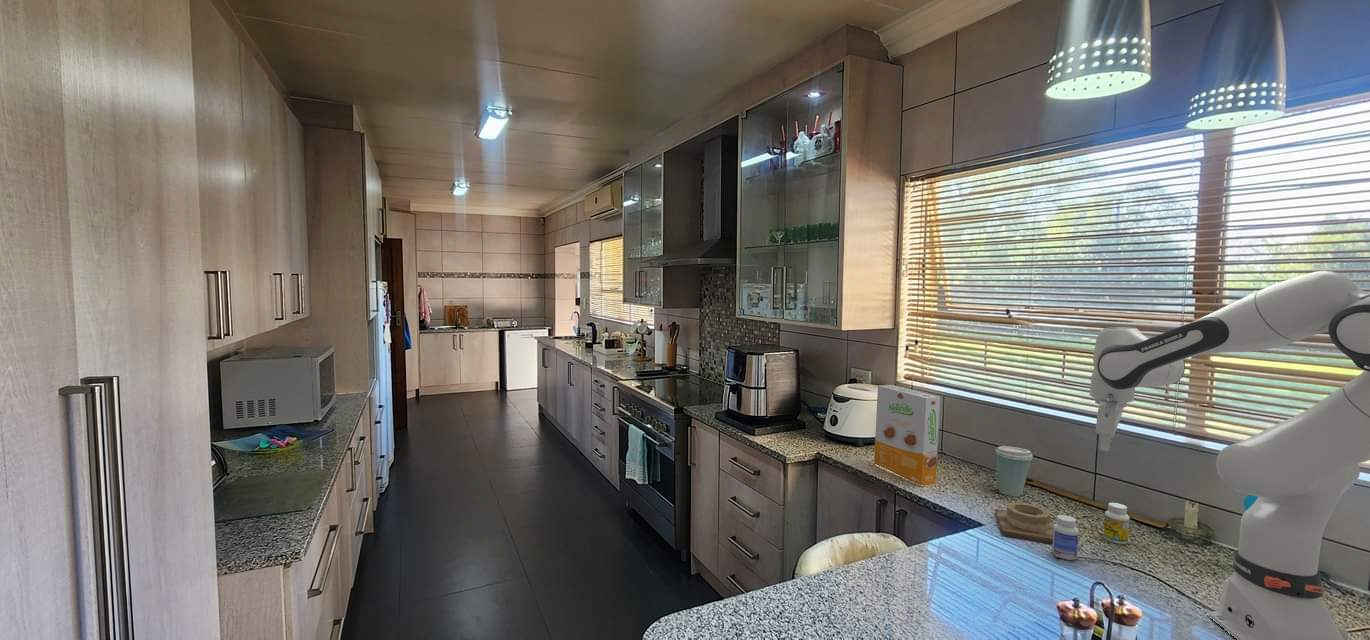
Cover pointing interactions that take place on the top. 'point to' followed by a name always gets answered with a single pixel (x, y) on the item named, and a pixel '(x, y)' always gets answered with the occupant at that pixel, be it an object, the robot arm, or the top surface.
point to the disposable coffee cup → (1012, 469)
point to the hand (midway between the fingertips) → (1106, 445)
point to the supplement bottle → (1116, 524)
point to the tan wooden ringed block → (1026, 522)
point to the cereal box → (907, 433)
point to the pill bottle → (1065, 538)
